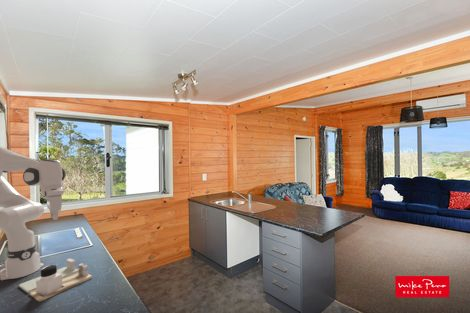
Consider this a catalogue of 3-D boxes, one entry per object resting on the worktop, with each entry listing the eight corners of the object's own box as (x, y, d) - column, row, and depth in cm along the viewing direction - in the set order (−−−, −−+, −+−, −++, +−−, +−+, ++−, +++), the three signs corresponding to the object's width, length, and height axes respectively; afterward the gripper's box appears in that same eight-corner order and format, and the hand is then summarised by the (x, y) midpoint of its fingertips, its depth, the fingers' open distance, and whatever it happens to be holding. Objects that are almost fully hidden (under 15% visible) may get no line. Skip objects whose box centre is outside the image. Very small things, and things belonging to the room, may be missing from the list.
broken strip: (19, 286, 118) (18, 274, 118) (69, 267, 137) (68, 256, 137) (27, 293, 111) (27, 280, 111) (79, 272, 130) (78, 261, 130)
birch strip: (29, 294, 110) (28, 281, 110) (81, 272, 129) (80, 261, 129) (39, 302, 104) (38, 288, 104) (92, 278, 123) (91, 266, 123)
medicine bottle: (62, 287, 115) (61, 263, 115) (48, 296, 108) (47, 271, 108) (51, 286, 116) (49, 263, 116) (36, 295, 109) (34, 270, 109)
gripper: (42, 190, 122) (44, 217, 122) (46, 193, 107) (48, 223, 107) (57, 189, 126) (59, 214, 126) (63, 191, 112) (65, 219, 112)
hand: (54, 218), depth 117 cm, fingers open, 8 cm apart
